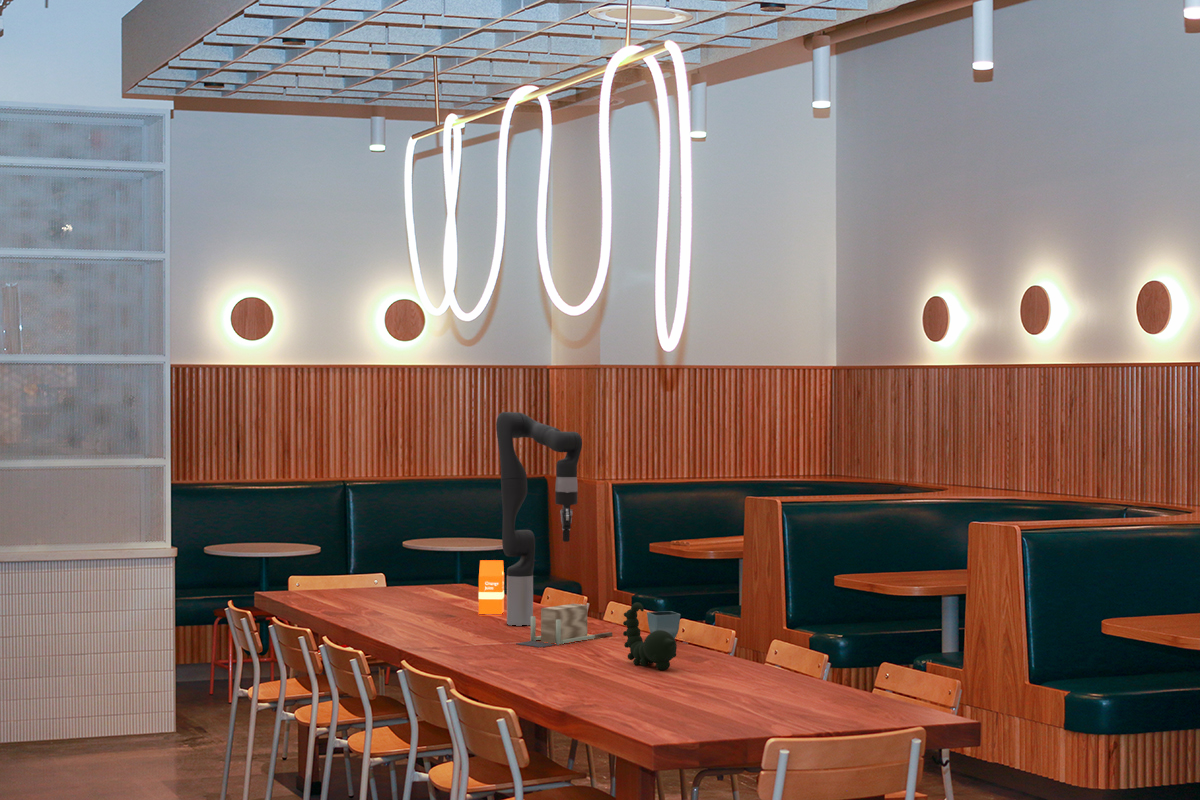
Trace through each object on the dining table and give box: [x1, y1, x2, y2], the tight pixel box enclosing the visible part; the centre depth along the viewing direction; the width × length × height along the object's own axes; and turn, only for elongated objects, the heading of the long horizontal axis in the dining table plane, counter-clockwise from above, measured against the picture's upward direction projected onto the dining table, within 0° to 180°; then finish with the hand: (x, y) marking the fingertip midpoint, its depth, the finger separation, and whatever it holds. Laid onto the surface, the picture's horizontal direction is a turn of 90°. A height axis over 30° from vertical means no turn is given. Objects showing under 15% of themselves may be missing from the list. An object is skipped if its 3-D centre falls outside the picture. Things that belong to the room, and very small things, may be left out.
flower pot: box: [646, 610, 681, 640], centre depth 446 cm, size 9×9×9 cm
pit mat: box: [515, 640, 557, 648], centre depth 436 cm, size 7×11×1 cm, turn 50°
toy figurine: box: [622, 602, 678, 671], centre depth 396 cm, size 9×19×25 cm
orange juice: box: [478, 559, 505, 615], centre depth 511 cm, size 8×9×20 cm
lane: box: [593, 631, 613, 639], centre depth 456 cm, size 9×13×1 cm
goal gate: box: [530, 615, 595, 646], centre depth 446 cm, size 18×13×8 cm
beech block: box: [540, 603, 588, 644], centre depth 447 cm, size 16×6×11 cm, turn 140°
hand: (566, 541), depth 464 cm, fingers closed
